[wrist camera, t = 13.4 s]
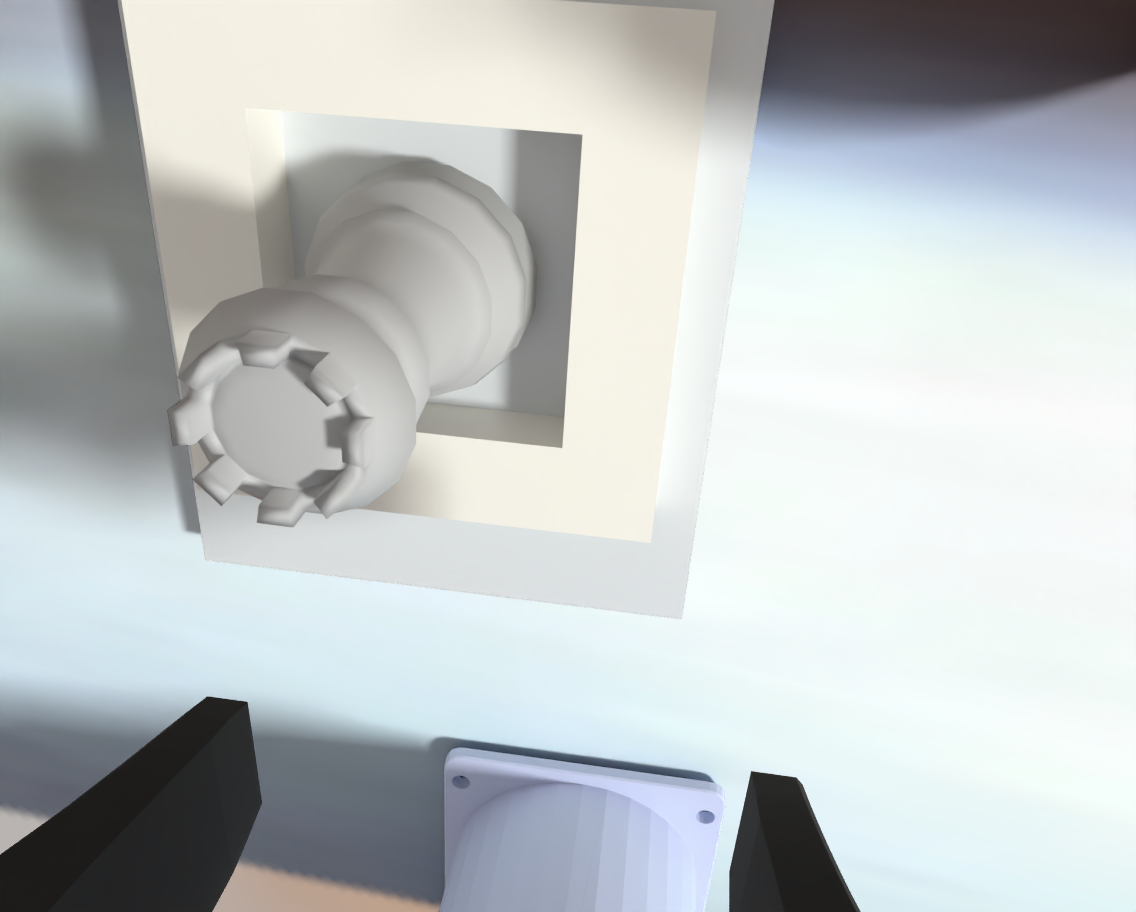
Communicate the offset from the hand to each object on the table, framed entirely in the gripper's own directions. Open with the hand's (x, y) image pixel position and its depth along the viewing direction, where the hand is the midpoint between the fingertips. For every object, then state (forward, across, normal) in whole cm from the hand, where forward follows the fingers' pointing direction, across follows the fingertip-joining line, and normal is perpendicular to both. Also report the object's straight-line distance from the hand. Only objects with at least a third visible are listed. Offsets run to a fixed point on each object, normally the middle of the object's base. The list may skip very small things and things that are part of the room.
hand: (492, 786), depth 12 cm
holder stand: (+9, +3, -5) cm, 11 cm away
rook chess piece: (+9, +3, -5) cm, 10 cm away
